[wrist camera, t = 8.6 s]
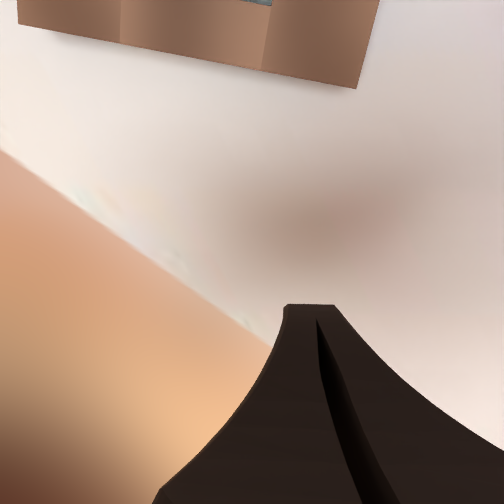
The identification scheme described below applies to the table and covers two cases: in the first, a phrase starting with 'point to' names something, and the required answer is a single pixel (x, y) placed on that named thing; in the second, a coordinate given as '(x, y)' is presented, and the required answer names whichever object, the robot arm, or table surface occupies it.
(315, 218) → the table surface
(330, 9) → the walnut panel
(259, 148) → the table surface
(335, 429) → the robot arm
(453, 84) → the table surface
